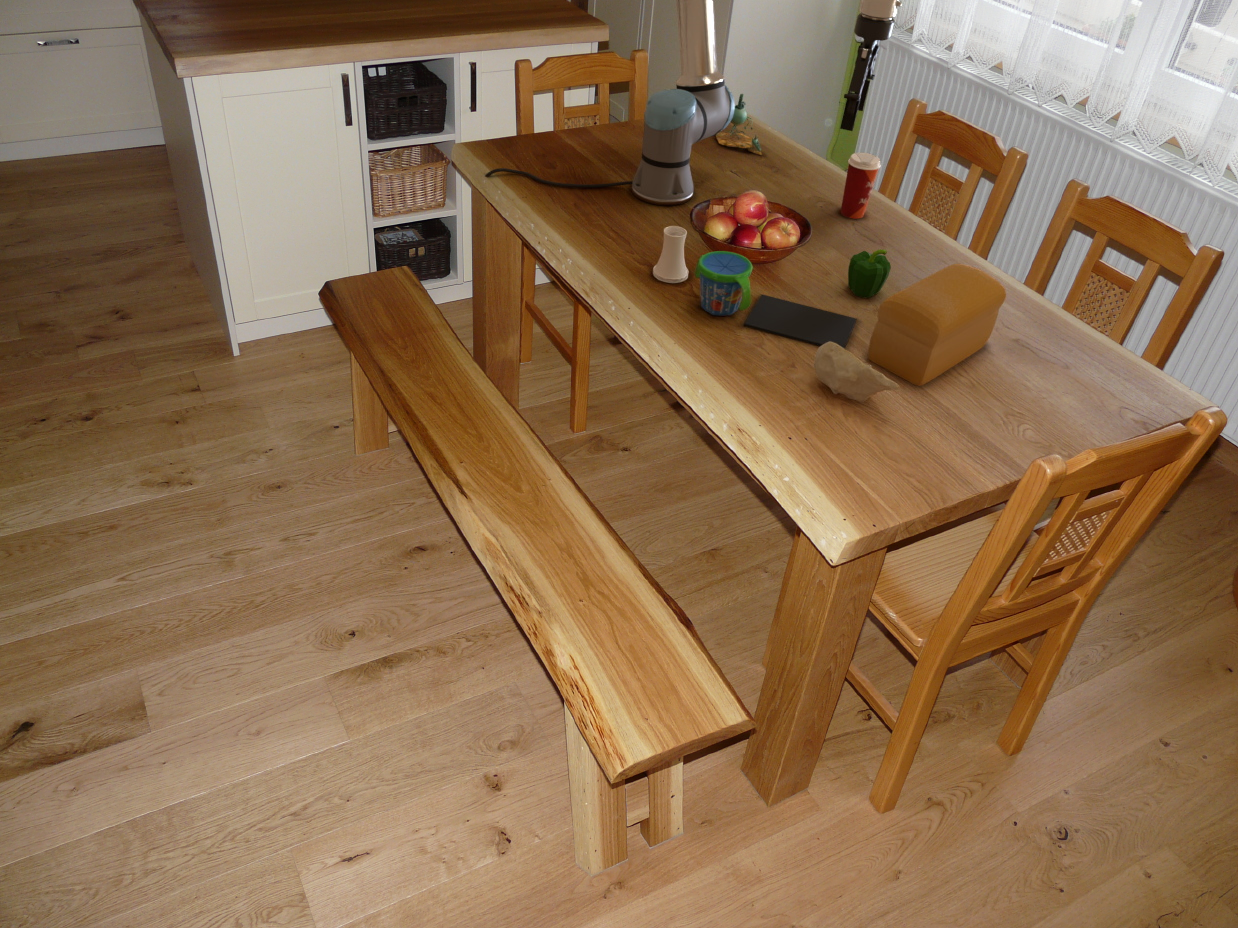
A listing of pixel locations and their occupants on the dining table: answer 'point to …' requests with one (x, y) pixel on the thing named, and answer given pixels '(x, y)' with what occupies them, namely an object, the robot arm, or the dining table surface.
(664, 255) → the vase
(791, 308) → the placemat
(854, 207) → the paper cup
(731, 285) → the snack cup
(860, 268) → the bell pepper
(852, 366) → the beige lumpy piece
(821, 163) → the dining table surface
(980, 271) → the bread
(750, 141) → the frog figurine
